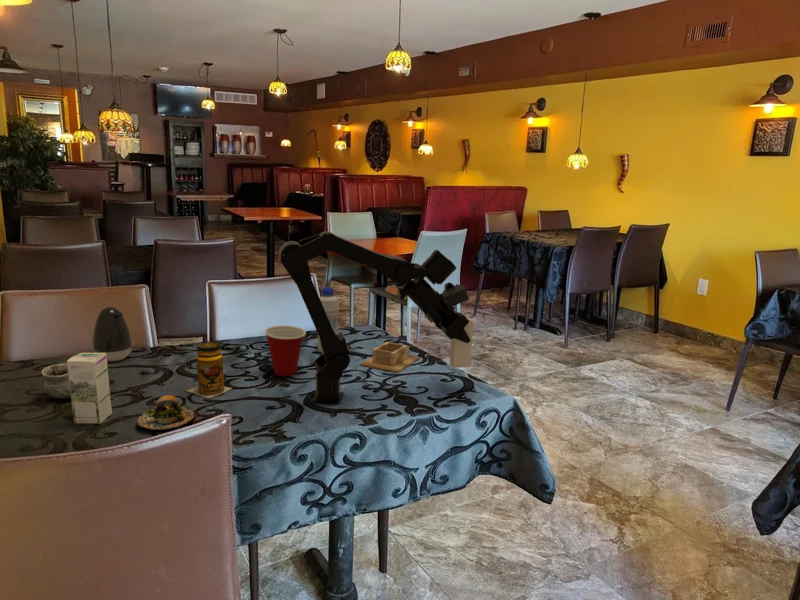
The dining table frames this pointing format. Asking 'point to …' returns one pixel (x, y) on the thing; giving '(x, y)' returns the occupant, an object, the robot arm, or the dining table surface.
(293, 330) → the plastic cup
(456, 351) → the tan rectangular block
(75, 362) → the syrup box
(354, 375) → the dining table surface
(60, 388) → the mug
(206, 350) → the condiment
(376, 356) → the wooden socket base
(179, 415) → the burger
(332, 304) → the bottle
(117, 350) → the dark grey egg shape
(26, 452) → the dining table surface
